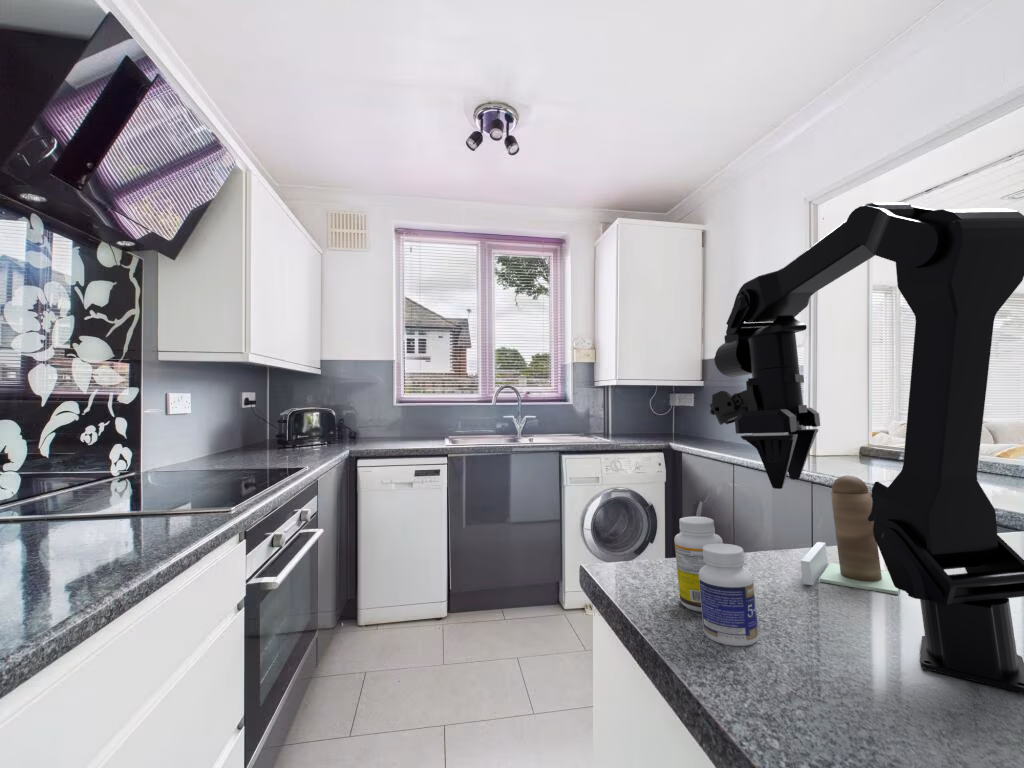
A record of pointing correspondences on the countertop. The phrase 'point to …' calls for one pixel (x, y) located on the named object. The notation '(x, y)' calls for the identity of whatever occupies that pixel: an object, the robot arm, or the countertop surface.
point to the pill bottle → (727, 596)
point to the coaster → (835, 577)
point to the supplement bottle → (692, 557)
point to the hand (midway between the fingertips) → (786, 483)
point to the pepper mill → (855, 530)
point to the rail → (814, 563)
